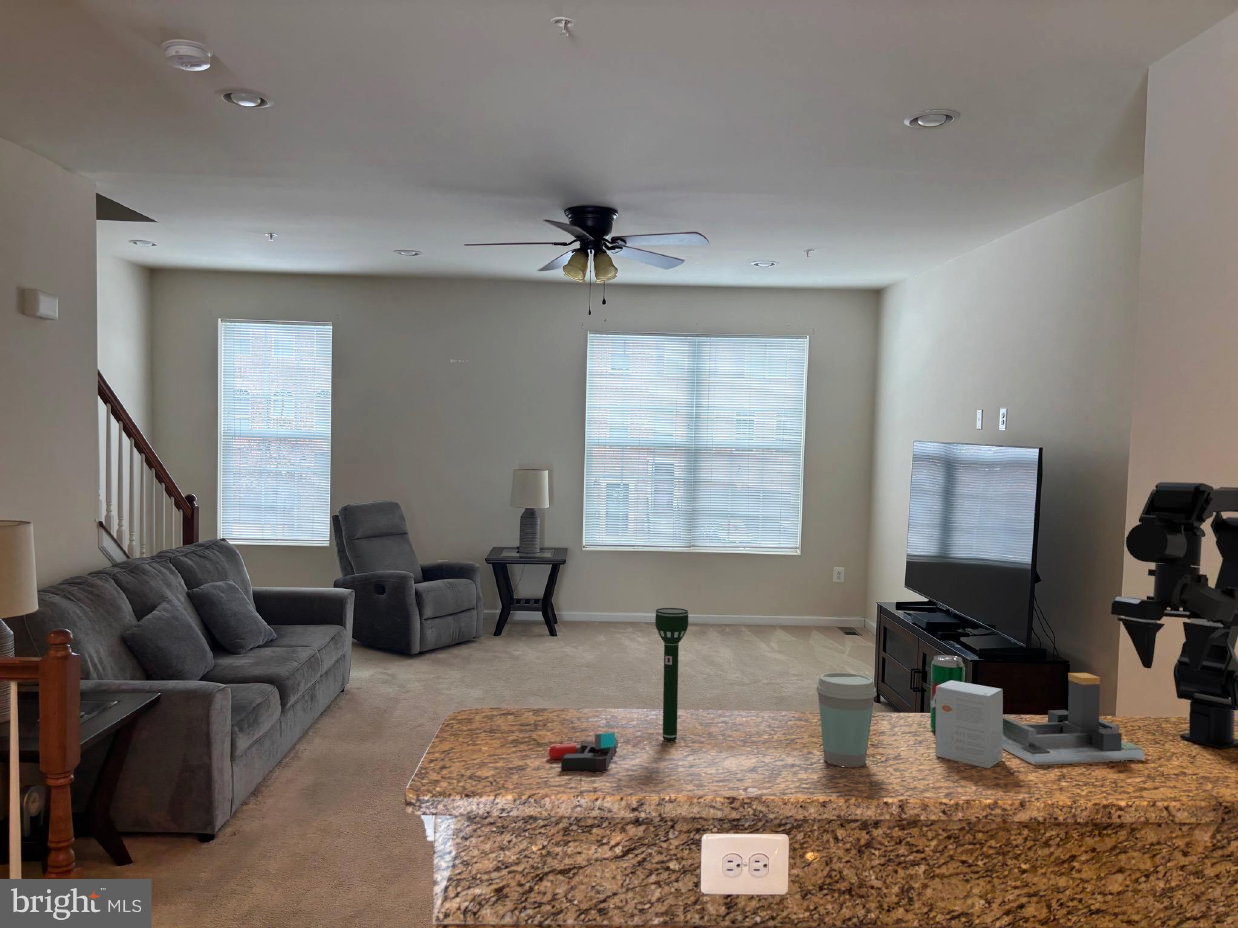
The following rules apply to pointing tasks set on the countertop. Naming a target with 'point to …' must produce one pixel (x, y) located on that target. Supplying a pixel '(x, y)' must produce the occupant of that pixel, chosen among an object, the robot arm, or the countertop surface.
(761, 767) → the countertop surface
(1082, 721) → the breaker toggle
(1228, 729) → the robot arm
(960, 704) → the small box
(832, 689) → the coffee cup
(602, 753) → the toy gun
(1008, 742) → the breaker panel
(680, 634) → the flashlight
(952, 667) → the soda can
